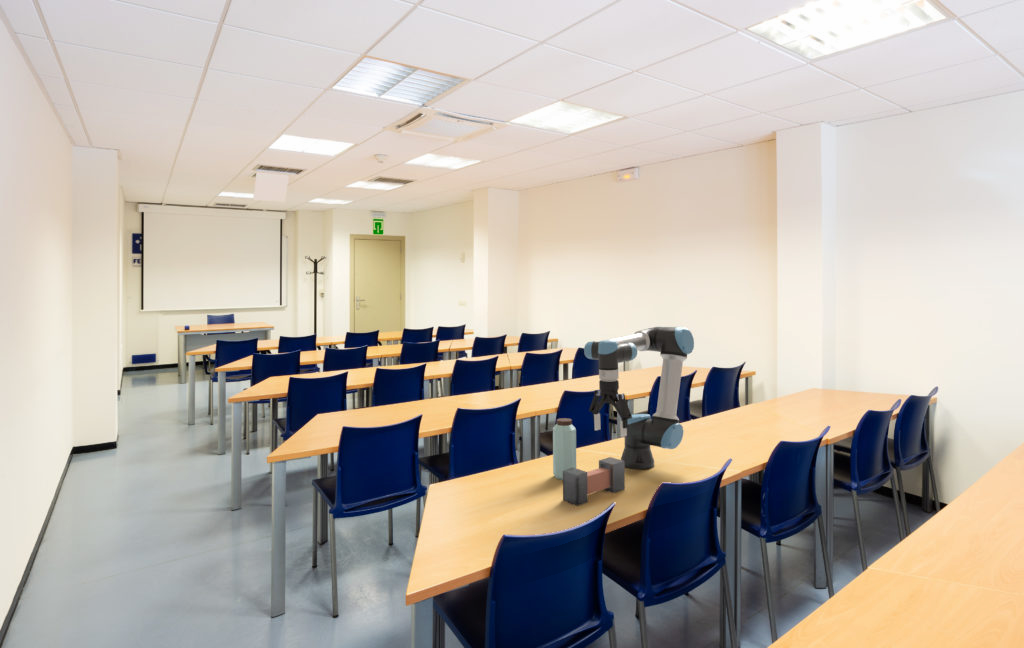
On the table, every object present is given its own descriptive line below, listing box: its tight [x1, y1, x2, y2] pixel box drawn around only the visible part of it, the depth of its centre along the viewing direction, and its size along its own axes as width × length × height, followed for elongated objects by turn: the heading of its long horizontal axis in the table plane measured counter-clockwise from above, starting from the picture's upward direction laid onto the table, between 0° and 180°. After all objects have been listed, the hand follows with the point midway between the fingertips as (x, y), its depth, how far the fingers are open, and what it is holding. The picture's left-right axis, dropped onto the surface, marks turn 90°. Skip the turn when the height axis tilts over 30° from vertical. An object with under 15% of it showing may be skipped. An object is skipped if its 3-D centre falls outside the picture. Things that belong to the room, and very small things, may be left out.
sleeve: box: [598, 456, 626, 494], centre depth 220 cm, size 7×7×12 cm
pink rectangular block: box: [586, 467, 610, 495], centre depth 213 cm, size 18×4×7 cm, turn 129°
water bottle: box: [552, 417, 577, 481], centre depth 236 cm, size 10×10×25 cm
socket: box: [562, 467, 589, 506], centre depth 207 cm, size 6×7×12 cm
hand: (610, 433), depth 216 cm, fingers open, 13 cm apart
